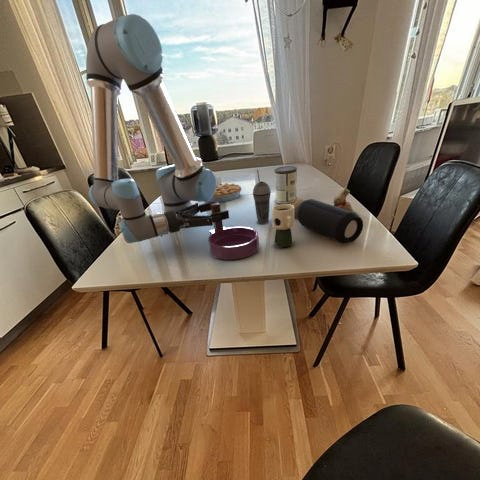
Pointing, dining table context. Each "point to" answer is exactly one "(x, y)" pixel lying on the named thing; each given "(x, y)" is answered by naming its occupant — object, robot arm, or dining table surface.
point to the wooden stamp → (217, 225)
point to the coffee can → (285, 184)
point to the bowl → (234, 243)
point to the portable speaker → (330, 220)
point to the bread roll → (296, 205)
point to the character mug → (283, 224)
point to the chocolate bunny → (342, 200)
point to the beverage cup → (262, 201)
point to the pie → (226, 192)
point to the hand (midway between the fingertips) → (221, 209)
